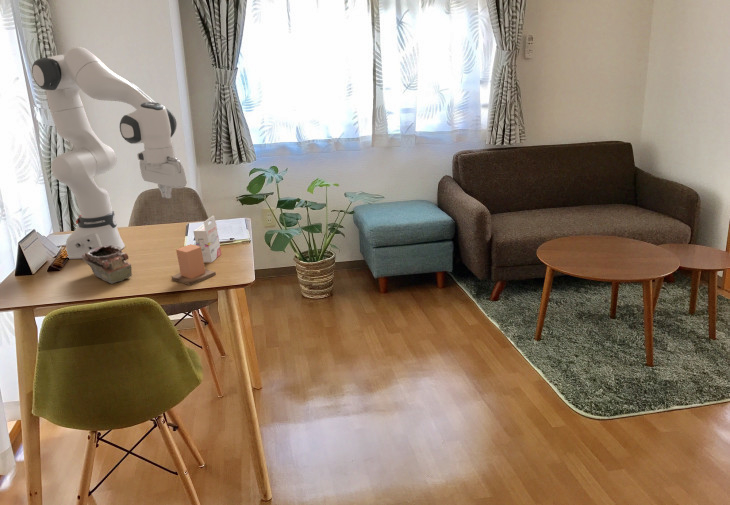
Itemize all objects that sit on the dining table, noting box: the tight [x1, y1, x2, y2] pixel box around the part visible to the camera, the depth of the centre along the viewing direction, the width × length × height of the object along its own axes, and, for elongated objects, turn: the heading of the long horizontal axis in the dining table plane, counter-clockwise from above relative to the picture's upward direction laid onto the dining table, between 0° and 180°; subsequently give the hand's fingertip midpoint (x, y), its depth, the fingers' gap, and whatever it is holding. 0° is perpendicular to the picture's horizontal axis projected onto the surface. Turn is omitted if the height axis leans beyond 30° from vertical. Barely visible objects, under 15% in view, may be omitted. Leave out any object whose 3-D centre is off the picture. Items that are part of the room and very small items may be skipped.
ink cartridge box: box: [192, 215, 222, 263], centre depth 218 cm, size 9×5×15 cm, turn 168°
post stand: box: [171, 268, 217, 286], centre depth 203 cm, size 10×10×8 cm
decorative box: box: [81, 245, 133, 285], centre depth 209 cm, size 13×20×10 cm, turn 40°
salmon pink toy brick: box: [175, 244, 206, 279], centre depth 202 cm, size 6×6×9 cm
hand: (166, 197), depth 203 cm, fingers closed
